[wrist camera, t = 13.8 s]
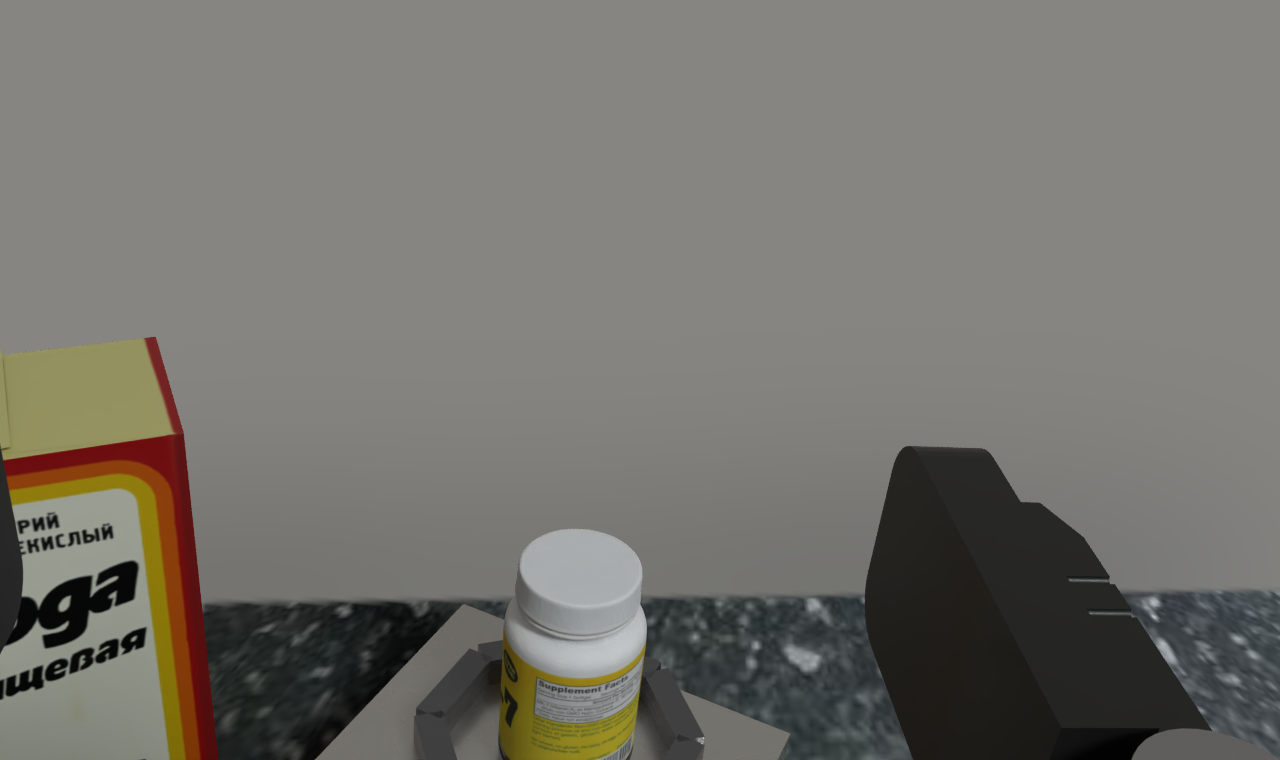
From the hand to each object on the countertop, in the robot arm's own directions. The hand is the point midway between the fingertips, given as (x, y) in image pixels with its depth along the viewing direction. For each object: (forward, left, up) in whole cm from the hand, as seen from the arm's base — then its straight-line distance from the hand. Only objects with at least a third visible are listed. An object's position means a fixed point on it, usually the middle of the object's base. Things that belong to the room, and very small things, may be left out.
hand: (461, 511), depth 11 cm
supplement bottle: (-8, +20, -26) cm, 34 cm away
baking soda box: (-25, +14, -30) cm, 42 cm away
